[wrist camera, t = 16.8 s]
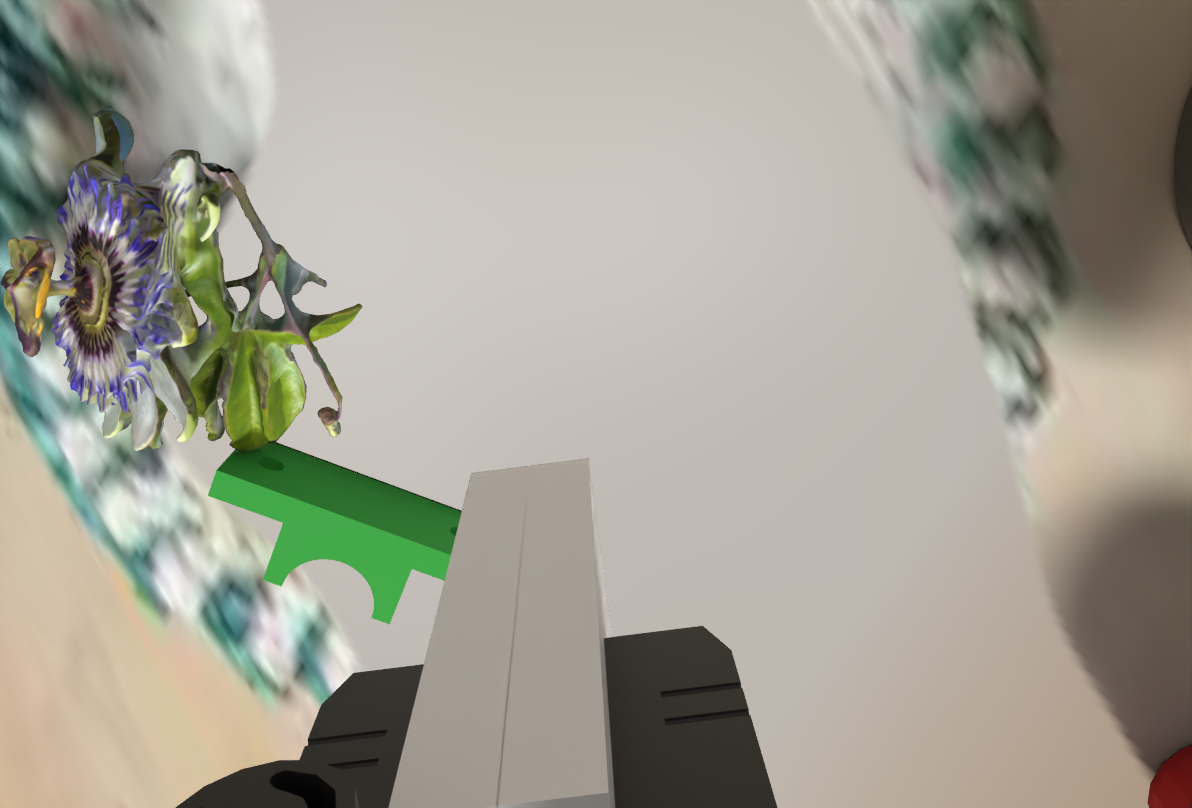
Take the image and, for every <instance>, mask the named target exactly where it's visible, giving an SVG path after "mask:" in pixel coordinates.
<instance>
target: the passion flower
mask: <svg viewBox="0 0 1192 808" xmlns="http://www.w3.org/2000/svg"><path fill="white" fill-rule="evenodd" d="M92 122H93V125H94V130H95V136H96V154H94V155H93V156H91V158H89V159H87V160H84V161H82V162H80V163H79V164H78V165H77V166H76V167H75V169H74V170H73V172H72V175H71V176H70V177H69V180H68V189H67V190H68V199H67V202H66V203H65V204H64V205H62V206H61V207H60V208H59V209H57V211H56V213H57V221H58V223H59V224H60V225H61V226H62V227H63V228H64V230H65V234H66V236H67V238H68V239H69V240H68V242H67V245H68V249H67V250H66V252H65V253H64V255H65V257H66V258H67V260H66V262H65V265H64V267H65V271H64V273H63V274H62V275H61V276H60V278H61V280H59V281H55V280H52V279H51V276H52V272H53V268H54V264H55V260H56V259H55V248H54V247H53V246H52V244H51V242H50V241H49V240H47V239H41V238H36V237H31V236H25V237H23V239H22V240H21V241H19V240H18V239H17V238H12V239H11V240H10V241H9V242H8V247H9V255H10V259H11V261H10V262H11V267H13V268H14V269H10V270H8V271H7V272H6V273H5V275H4V276H3V278H2V281H1V285H2V286H4V288H5V289H6V292H5V295H4V305H5V308H6V309H7V311H8V312H9V313H10V315H11V318H12V320H13V321H14V322H15V326H16V329H17V332H18V337H19V340H20V341H21V343H22V345H23V352H24V353H25V354H26V355H28V356H30V357H33V356H35V355H37V354H38V352H39V350H40V346H41V333H42V329H43V326H44V323H45V318H44V315H43V310H44V308H45V307H46V301H47V297H49V296H54V295H63V294H65V295H67V296H66V297H65V298H64V299H62V300H61V301H60V303H59V304H60V307H61V308H60V310H59V311H58V312H57V313H56V317H55V318H54V319H53V324H52V328H51V330H52V332H53V333H54V334H55V343H56V345H57V346H58V347H61V348H63V349H64V350H65V351H66V356H67V360H66V362H65V364H64V367H65V366H66V365H67V363H68V361H69V360H70V361H69V364H68V368H70V373H69V376H68V378H67V381H68V382H70V383H71V384H70V386H71V390H75V391H76V392H78V394H79V396H80V397H81V398H80V401H82V402H83V401H85V400H87V405H89V404H90V405H91V404H93V403H96V402H97V404H98V406H99V410H100V412H101V413H102V412H105V416H104V422H103V426H102V429H103V436H104V437H105V438H109V437H113V436H114V435H115V434H116V433H118V432H119V431H121V430H124V429H126V428H127V427H128V426H129V425H130V424H132V428H131V432H132V442H133V448H134V450H135V451H137V450H141V449H145V448H146V447H147V446H148V445H149V446H150V447H152V448H153V449H154V448H158V447H161V446H162V445H163V442H162V440H161V432H162V429H163V425H164V422H163V420H164V417H165V414H166V412H167V410H169V411H170V412H171V413H172V414H173V416H174V418H175V420H176V421H178V422H181V423H182V424H183V431H182V432H181V433H180V434H179V436H178V437H177V438H176V440H177V441H180V442H186V441H187V440H189V439H190V437H191V436H192V434H193V432H194V431H195V428H196V426H197V423H198V417H205V420H206V421H207V423H206V428H207V429H206V430H207V431H208V432H209V434H208V439H209V440H210V441H215V440H217V439H220V438H221V437H222V435H223V433H224V431H225V429H226V432H227V434H228V436H229V437H230V439H232V442H231V443H230V446H232V447H233V448H235V449H236V450H238V451H243V452H246V453H249V452H250V451H251V450H254V449H258V448H261V447H264V446H265V445H267V444H274V443H275V442H276V441H277V440H278V439H279V438H280V437H281V436H282V435H283V434H284V432H285V431H286V430H287V429H288V427H289V426H290V425H291V423H292V422H293V420H294V419H295V417H296V416H297V415H298V413H299V412H301V411H302V410H303V408H304V403H305V400H306V384H305V381H304V378H303V375H302V373H301V371H300V369H299V367H298V365H297V363H296V361H295V357H294V355H293V353H292V352H291V345H293V344H304V345H305V344H306V346H307V348H308V349H309V351H310V352H311V354H312V356H313V360H314V362H315V363H316V364H317V365H318V366H319V367H320V369H321V371H322V373H323V375H324V377H325V379H326V382H327V384H328V386H329V388H330V390H331V391H332V393H333V395H334V397H335V398H336V399H337V402H338V405H339V408H338V411H335V410H334V409H332V408H330V407H325V408H322V409H320V410H319V411H318V416H319V417H320V418H321V420H322V422H323V423H324V426H325V427H326V429H327V430H328V431H329V434H330V435H331V436H332V437H336V436H337V435H338V434H340V431H341V428H340V423H339V422H338V419H339V418H340V415H341V406H342V396H341V394H340V392H339V391H338V389H337V387H336V384H335V382H334V379H333V377H332V376H331V374H330V372H329V371H328V368H327V366H326V364H325V362H324V361H323V359H322V358H321V357H320V355H319V353H318V351H317V348H316V347H315V346H314V345H313V343H312V342H314V341H316V340H318V339H321V338H325V337H328V336H331V335H333V334H335V333H337V332H339V331H340V330H341V329H343V328H344V327H345V326H347V325H348V324H349V323H350V322H351V321H352V320H353V319H354V318H355V316H356V315H357V313H358V312H359V311H360V310H361V308H362V305H360V304H357V305H355V306H353V307H350V308H347V309H344V310H341V311H339V312H335V313H332V314H326V315H318V316H317V315H312V314H308V313H304V312H301V311H300V310H299V309H298V308H297V307H296V306H295V304H294V303H293V301H292V296H293V295H296V294H297V293H299V292H300V290H301V288H302V286H303V285H304V284H305V283H306V282H308V281H313V282H315V283H317V284H319V285H321V286H323V287H326V285H327V283H326V281H325V280H323V279H321V278H319V277H318V276H317V275H316V274H315V273H313V272H311V271H309V270H307V269H305V268H303V267H302V266H300V265H299V264H298V263H297V262H295V261H294V260H292V258H291V257H290V255H289V254H288V253H287V251H286V250H285V249H284V247H283V246H282V245H280V244H276V243H275V242H274V241H273V240H272V239H271V237H270V235H269V234H268V232H267V230H266V228H265V226H264V225H263V224H262V222H261V221H260V219H259V217H258V216H257V214H256V212H255V210H254V209H253V207H252V205H251V203H250V201H249V198H248V196H247V194H246V189H245V186H244V185H243V184H242V183H241V182H240V181H239V179H238V177H237V176H236V174H235V172H234V171H232V170H231V169H230V168H228V169H225V168H223V167H221V166H220V165H218V164H215V163H201V159H200V154H199V152H198V151H194V150H183V149H182V150H178V151H175V152H174V153H173V154H171V155H170V157H169V158H168V159H167V160H166V161H165V163H164V164H163V166H162V170H161V172H160V173H159V175H158V176H156V177H155V178H154V179H153V180H151V181H148V182H145V183H142V184H135V183H131V181H130V177H129V175H128V174H125V171H124V161H125V158H126V156H127V155H128V154H129V152H130V151H131V149H132V147H133V143H134V134H133V129H132V127H131V124H130V122H129V121H128V120H127V119H126V118H125V117H124V116H122V115H121V114H119V113H118V112H116V111H115V110H113V109H109V108H107V109H103V110H101V111H99V112H96V113H93V114H92ZM225 190H231V191H233V192H234V193H235V195H236V196H237V198H238V200H239V202H240V205H241V207H242V209H243V210H244V213H245V216H246V217H247V218H248V219H249V221H250V222H251V224H252V226H253V229H254V230H255V232H256V234H257V236H258V238H259V239H260V240H261V243H262V247H263V250H262V253H261V255H260V259H259V264H258V269H257V270H256V271H255V272H254V273H253V274H252V275H251V276H248V277H245V278H242V279H238V280H233V281H228V282H225V281H224V272H223V258H222V256H221V253H220V250H219V242H218V232H217V231H216V229H215V228H216V227H217V224H218V222H219V219H220V213H221V207H220V203H219V196H220V195H221V194H222V193H223V192H224V191H225ZM270 280H272V281H273V282H274V284H275V286H276V289H277V291H278V292H279V294H280V296H281V299H282V302H283V304H284V308H285V314H284V315H283V316H282V317H280V318H278V319H272V318H271V317H269V316H268V315H266V314H264V313H262V312H261V310H260V307H259V298H260V294H261V292H262V290H263V289H264V287H265V285H266V283H267V282H268V281H270ZM181 282H182V284H183V286H184V287H185V288H186V289H187V290H184V289H183V287H182V285H181ZM234 286H243V287H246V288H247V289H248V290H249V292H250V299H249V302H248V304H247V305H246V307H245V308H244V309H243V310H242V311H239V312H238V309H237V306H236V303H235V302H234V300H233V299H232V297H231V295H230V294H229V291H228V289H227V288H229V287H234ZM190 296H192V298H193V299H194V301H195V303H196V304H197V306H198V307H199V308H200V309H201V310H203V312H204V313H205V314H206V315H207V320H206V322H205V323H204V324H202V325H201V326H198V322H197V319H196V317H195V314H194V312H193V309H192V306H191V304H190V301H189V299H188V297H190ZM219 398H223V400H224V401H223V403H222V407H223V417H222V415H221V413H220V411H219V407H218V402H217V400H218V399H219Z"/></svg>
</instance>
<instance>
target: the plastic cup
mask: <svg viewBox="0 0 1192 808" xmlns="http://www.w3.org/2000/svg"><path fill="white" fill-rule="evenodd" d="M1148 805H1149V808H1192V745H1191V746H1189V747H1186V748H1183V749H1181V750H1179V751H1178V752H1177V753H1176V754H1174V755H1173V756H1172V757H1171V758H1170V759H1168V760H1167V761H1166V762H1165V763H1163V764H1162V765H1161V767H1160V769H1159V770H1158V772H1157V774H1156V775H1155V777H1154V778H1153V780H1152V782H1151V783H1150V790H1149V797H1148Z"/></svg>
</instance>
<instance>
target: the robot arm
mask: <svg viewBox="0 0 1192 808" xmlns="http://www.w3.org/2000/svg"><path fill="white" fill-rule="evenodd" d="M1175 188H1176V197H1177V204H1178V209H1179V213H1180V217H1181V221H1182V224H1183V227H1184V230H1185V233H1186V236H1187V238H1188V240H1189V243H1190V245H1191V247H1192V89H1191V91H1190V94H1189V97H1188V100H1187V102H1186V105H1185V109H1184V112H1183V116H1182V119H1181V123H1180V128H1179V133H1178V138H1177V145H1176V154H1175ZM176 808H777V805H776V801H775V798H774V795H773V791H772V788H771V784H770V781H769V777H768V774H767V771H766V768H765V764H764V761H763V757H762V754H761V750H760V747H759V743H758V740H757V737H756V733H755V730H754V726H753V723H752V719H751V716H750V715H749V711H748V706H747V702H746V699H745V696H744V692H743V689H742V688H741V682H740V679H739V675H738V672H737V668H736V665H735V661H734V658H733V655H732V651H731V650H730V649H729V648H728V647H727V646H726V645H725V644H723V643H722V642H721V641H720V640H719V639H717V638H716V637H715V636H714V635H713V634H712V633H710V632H709V631H708V630H707V629H706V628H704V627H703V626H698V627H691V628H682V629H674V630H667V631H658V632H650V633H642V634H634V635H626V636H618V637H612V629H611V622H610V615H609V607H608V599H607V592H606V584H605V577H604V571H603V562H602V555H601V547H600V541H599V532H598V525H597V517H596V510H595V502H594V495H593V487H592V480H591V473H590V465H589V458H587V459H580V460H572V461H564V462H556V463H548V464H540V465H532V466H524V467H517V468H508V469H500V470H492V471H485V472H476V473H471V477H470V481H469V485H468V489H467V493H466V497H465V501H464V505H463V509H462V513H461V517H460V521H459V525H458V529H457V533H456V537H455V541H454V545H453V549H452V553H451V557H450V561H449V566H448V570H447V574H446V578H445V582H444V586H443V590H442V594H441V598H440V602H439V606H438V610H437V614H436V618H435V622H434V626H433V630H432V634H431V638H430V642H429V646H428V651H427V654H426V658H425V663H424V664H423V665H415V666H406V667H398V668H391V669H383V670H375V671H366V672H358V673H353V674H352V675H351V676H350V677H349V678H348V679H347V680H346V681H345V682H344V683H343V684H342V685H341V686H340V687H339V688H338V689H337V690H336V691H335V692H334V693H333V694H332V695H331V696H330V697H329V698H328V699H327V700H326V701H325V702H324V703H323V704H322V705H321V707H320V710H319V712H318V715H317V717H316V720H315V722H314V725H313V727H312V730H311V732H310V735H309V737H308V746H305V748H304V750H303V753H302V755H301V758H300V760H279V761H275V762H271V763H267V764H262V765H258V766H254V767H250V768H245V769H242V770H239V771H237V772H235V773H233V774H231V775H228V776H226V777H224V778H222V779H220V780H217V781H215V782H213V783H211V784H209V785H206V786H204V787H203V788H202V789H200V790H199V791H198V792H196V793H195V794H193V795H192V796H191V797H189V798H188V799H187V800H185V801H184V802H182V803H181V804H180V805H178V806H177V807H176Z"/></svg>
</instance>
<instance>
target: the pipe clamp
mask: <svg viewBox="0 0 1192 808" xmlns="http://www.w3.org/2000/svg"><path fill="white" fill-rule="evenodd" d="M208 496H210V497H213V498H216V499H219V500H221V501H224V502H227V503H230V504H233V505H235V506H238V507H241V508H244V509H247V510H249V511H252V512H255V513H258V514H260V515H264V516H266V517H269V518H272V519H274V520H277V521H280V522H283V525H282V528H281V531H280V534H279V536H278V539H277V542H276V545H275V548H274V550H273V553H272V556H271V559H270V561H269V564H268V567H267V570H266V573H265V575H264V578H263V580H265V581H268V582H271V583H273V584H276V585H279V586H282V584H283V582H284V581H285V579H286V577H287V575H288V574H289V573H290V572H291V571H292V570H293V569H295V568H296V567H298V566H299V565H301V564H303V563H305V562H308V561H312V560H317V559H330V560H331V559H332V560H336V561H340V562H343V563H345V564H348V565H349V566H351V567H353V568H354V569H356V570H357V571H358V572H359V573H360V574H362V576H363V577H364V578H365V579H366V580H367V582H368V584H369V585H370V588H371V590H372V593H373V597H374V612H373V615H372V618H374V619H377V620H380V621H382V622H385V623H388V624H390V621H391V619H392V616H393V614H394V612H395V609H396V607H397V604H398V602H399V599H400V597H401V594H402V592H403V589H404V587H405V584H406V581H407V579H408V577H409V574H410V571H411V569H414V570H417V571H419V572H422V573H425V574H428V575H431V576H433V577H436V578H439V579H442V580H444V581H445V578H446V574H447V570H448V566H449V561H450V557H451V553H452V549H453V545H454V541H455V537H456V533H457V529H458V525H459V521H460V517H461V513H462V511H461V510H459V509H456V508H453V507H450V506H448V505H445V504H442V503H439V502H437V501H434V500H432V499H429V498H426V497H423V496H420V495H418V494H415V493H413V492H410V491H407V490H404V489H402V488H399V487H396V486H394V485H391V484H388V483H385V482H383V481H380V480H377V479H375V478H372V477H369V476H366V475H364V474H361V473H358V472H356V471H353V470H350V469H348V468H345V467H342V466H339V465H337V464H334V463H331V462H329V461H326V460H323V459H321V458H318V457H315V456H312V455H309V454H307V453H304V452H302V451H299V450H296V449H293V448H291V447H288V446H285V445H283V444H280V443H277V442H275V443H274V444H267V445H265V446H264V447H261V448H258V449H254V450H251V451H250V452H249V453H246V452H243V451H238V450H236V449H235V450H234V452H233V453H232V454H231V455H230V456H229V457H228V458H227V459H226V460H225V462H224V463H223V464H222V465H221V466H220V467H219V468H218V469H217V471H216V474H215V477H214V480H213V482H212V485H211V488H210V491H209V494H208Z"/></svg>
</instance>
